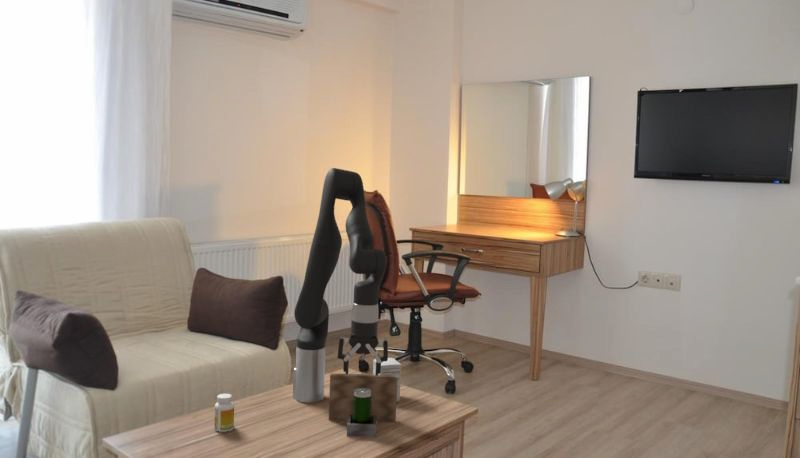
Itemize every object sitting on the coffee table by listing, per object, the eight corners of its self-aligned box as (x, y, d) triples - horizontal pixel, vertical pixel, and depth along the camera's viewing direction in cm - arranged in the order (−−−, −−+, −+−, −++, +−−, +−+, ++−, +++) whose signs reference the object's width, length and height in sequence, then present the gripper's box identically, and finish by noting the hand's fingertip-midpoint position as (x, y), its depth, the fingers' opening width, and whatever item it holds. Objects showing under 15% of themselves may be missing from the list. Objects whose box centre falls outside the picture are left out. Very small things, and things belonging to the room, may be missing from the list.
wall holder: (325, 435, 194) (327, 387, 193) (329, 418, 207) (330, 373, 205) (396, 437, 195) (398, 390, 193) (395, 420, 208) (397, 375, 206)
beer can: (357, 436, 195) (359, 395, 194) (348, 429, 199) (349, 389, 198) (373, 432, 198) (375, 392, 197) (364, 425, 202) (366, 386, 201)
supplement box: (371, 395, 228) (372, 358, 226) (392, 393, 230) (393, 357, 229) (378, 403, 221) (380, 365, 219) (400, 401, 224) (401, 363, 222)
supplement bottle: (237, 426, 198) (238, 394, 197) (226, 433, 193) (227, 400, 192) (221, 423, 200) (221, 391, 198) (210, 430, 195) (210, 397, 193)
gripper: (338, 320, 191) (335, 377, 193) (389, 323, 191) (386, 379, 193) (340, 314, 198) (338, 368, 200) (390, 316, 198) (386, 371, 200)
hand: (361, 373), depth 196 cm, fingers open, 8 cm apart
